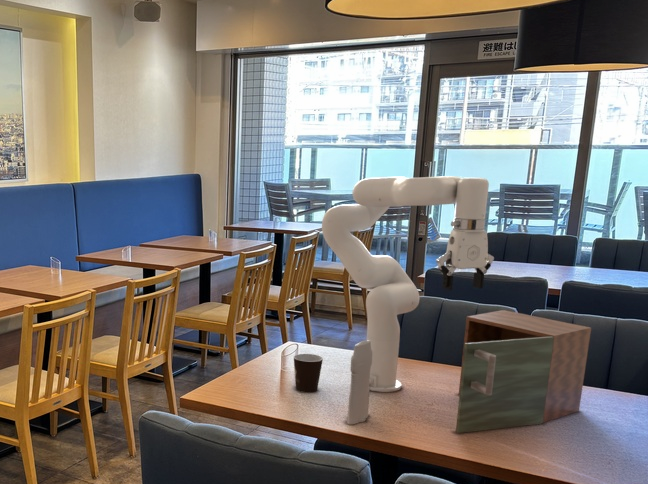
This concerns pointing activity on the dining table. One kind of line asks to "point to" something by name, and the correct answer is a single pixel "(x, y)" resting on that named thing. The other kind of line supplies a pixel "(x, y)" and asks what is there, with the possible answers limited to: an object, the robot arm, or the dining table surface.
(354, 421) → the tall pale column
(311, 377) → the coffee mug
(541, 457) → the dining table surface
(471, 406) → the cupboard door
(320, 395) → the dining table surface
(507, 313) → the cupboard
